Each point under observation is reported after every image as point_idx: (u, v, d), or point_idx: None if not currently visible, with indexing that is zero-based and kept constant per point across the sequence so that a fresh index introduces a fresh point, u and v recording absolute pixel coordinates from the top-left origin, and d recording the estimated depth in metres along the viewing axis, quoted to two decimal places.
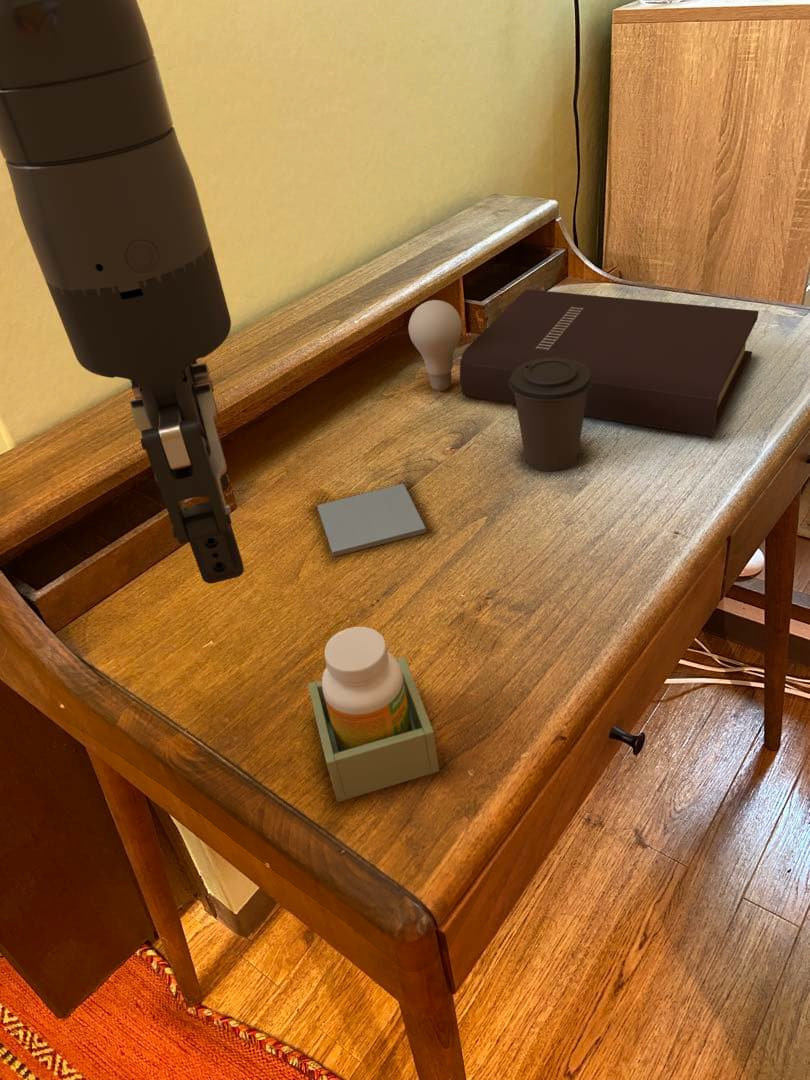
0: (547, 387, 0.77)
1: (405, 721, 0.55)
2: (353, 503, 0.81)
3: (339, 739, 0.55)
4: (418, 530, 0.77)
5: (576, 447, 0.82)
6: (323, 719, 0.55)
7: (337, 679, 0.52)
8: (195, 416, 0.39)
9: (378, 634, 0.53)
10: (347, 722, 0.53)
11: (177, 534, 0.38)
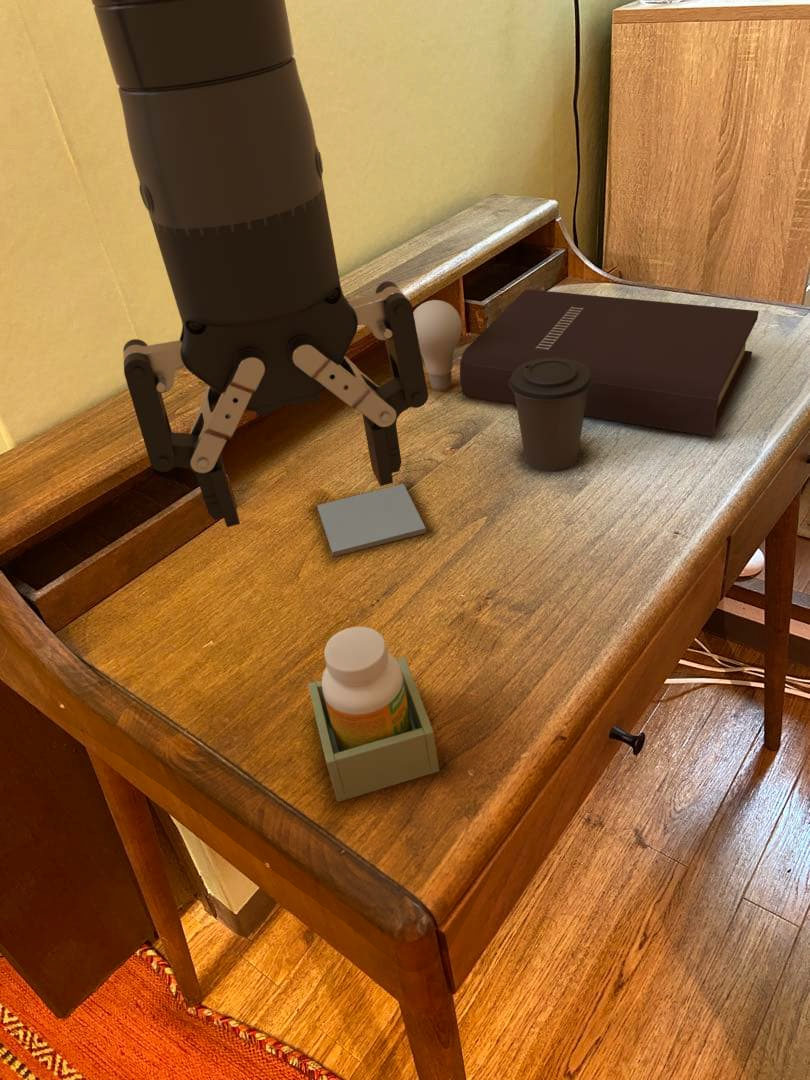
0: (547, 387, 0.77)
1: (405, 721, 0.55)
2: (353, 503, 0.81)
3: (339, 739, 0.55)
4: (418, 530, 0.77)
5: (576, 447, 0.82)
6: (323, 719, 0.55)
7: (336, 679, 0.52)
8: (192, 367, 0.38)
9: (378, 634, 0.53)
10: (347, 722, 0.53)
11: None
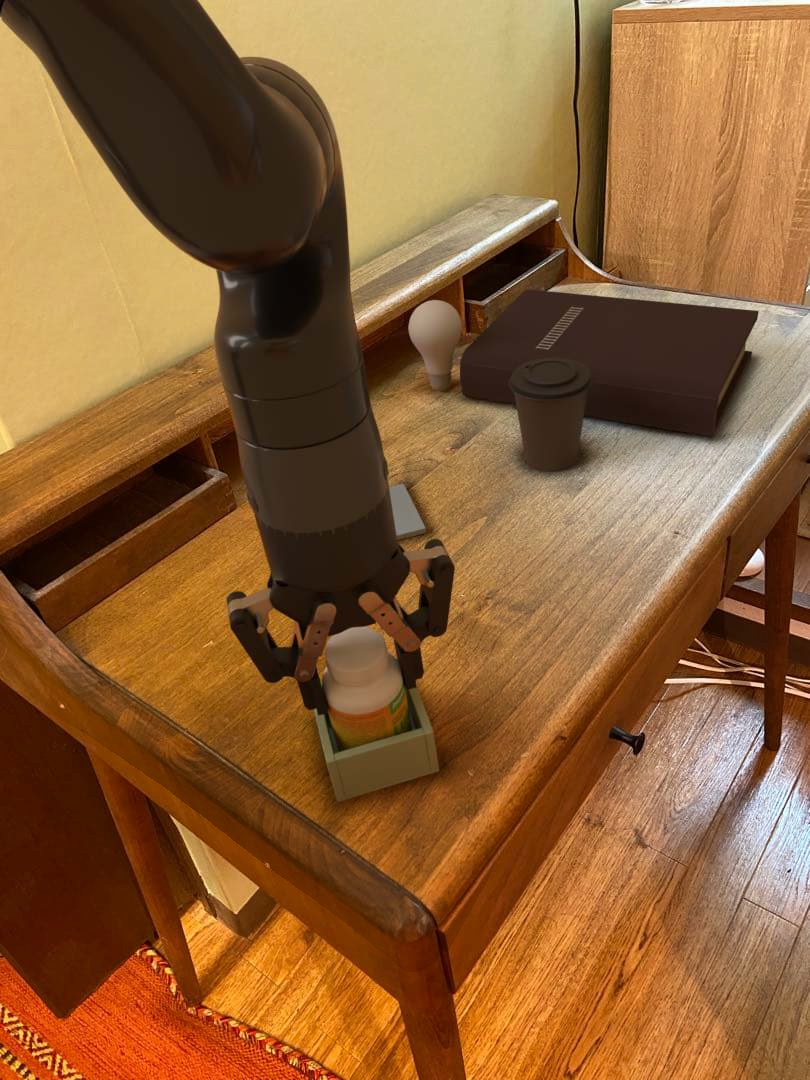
0: (547, 387, 0.77)
1: (405, 721, 0.55)
2: None
3: (339, 739, 0.55)
4: (418, 530, 0.77)
5: (576, 447, 0.82)
6: (323, 719, 0.55)
7: (337, 679, 0.52)
8: (278, 608, 0.47)
9: (378, 634, 0.53)
10: (348, 722, 0.53)
11: None
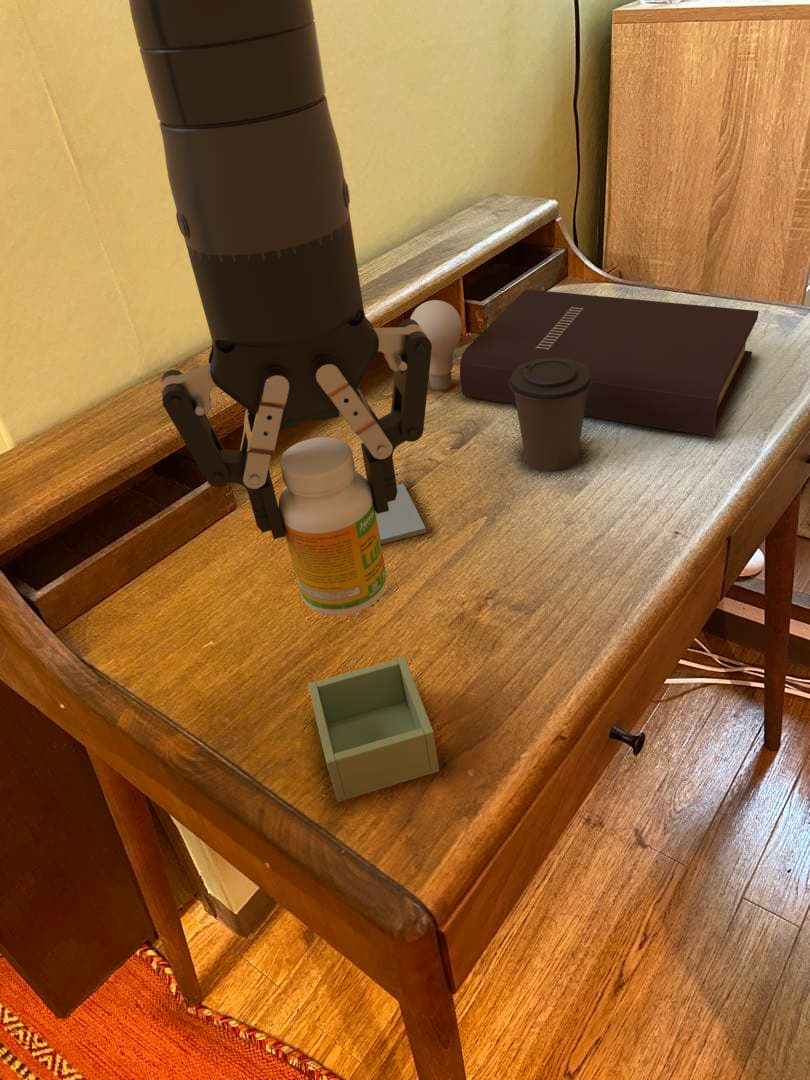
0: (547, 387, 0.77)
1: (376, 554, 0.48)
2: None
3: (299, 573, 0.48)
4: (418, 530, 0.77)
5: (576, 447, 0.82)
6: (323, 719, 0.55)
7: (294, 490, 0.44)
8: (221, 383, 0.40)
9: (344, 443, 0.45)
10: (307, 545, 0.45)
11: None
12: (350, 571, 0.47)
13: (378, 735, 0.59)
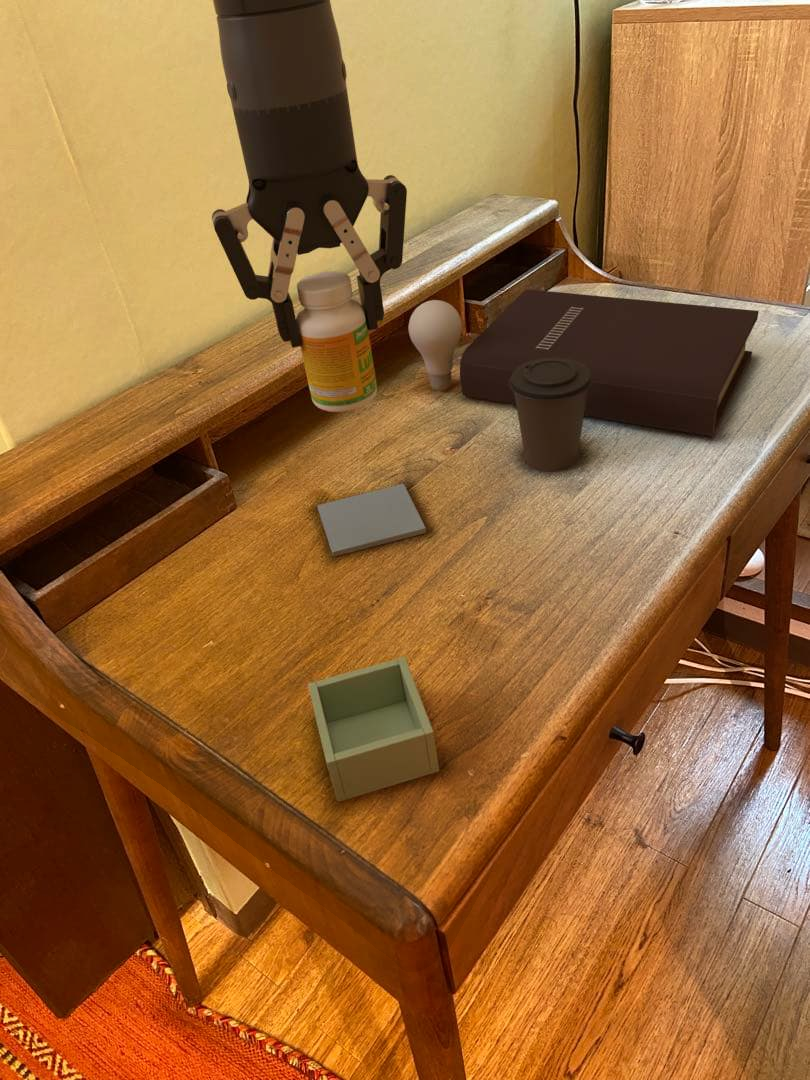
0: (547, 387, 0.77)
1: (369, 363, 0.64)
2: (353, 503, 0.81)
3: (311, 377, 0.64)
4: (418, 530, 0.77)
5: (576, 447, 0.82)
6: (323, 719, 0.55)
7: (307, 305, 0.60)
8: (255, 215, 0.56)
9: (344, 273, 0.61)
10: (317, 349, 0.61)
11: None
12: (350, 372, 0.63)
13: (378, 735, 0.59)
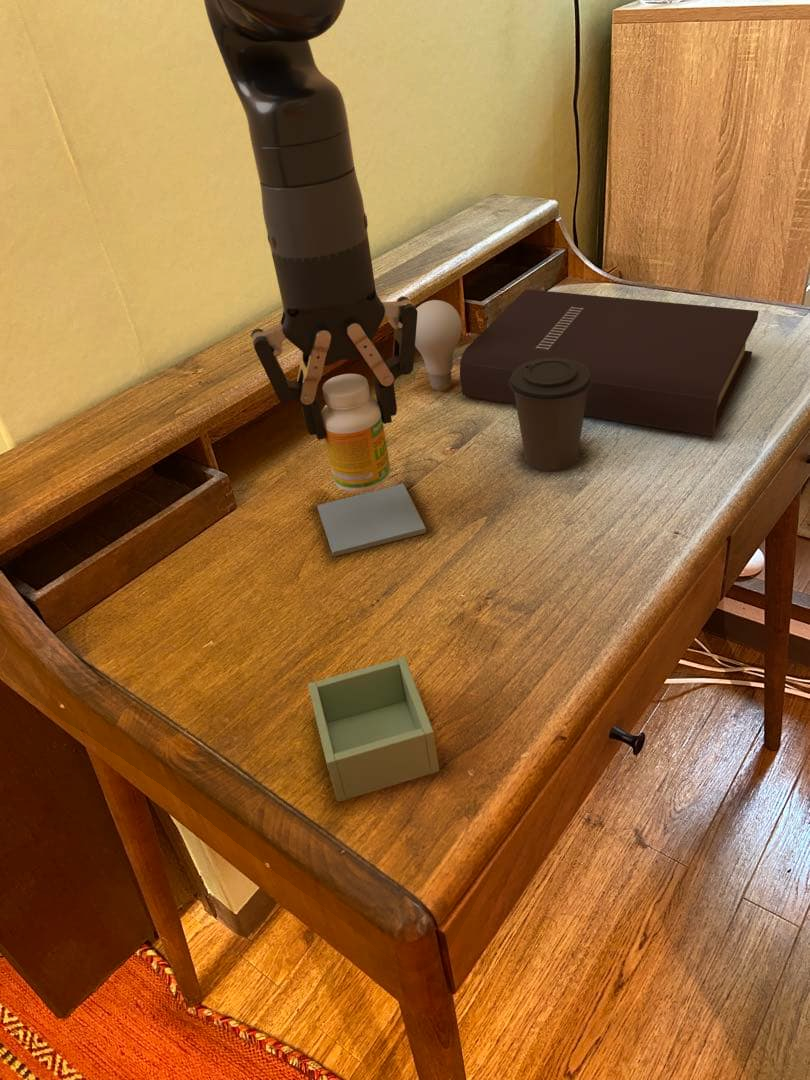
0: (546, 387, 0.77)
1: (384, 451, 0.74)
2: (353, 503, 0.81)
3: (334, 463, 0.73)
4: (418, 530, 0.77)
5: (576, 447, 0.82)
6: (323, 719, 0.55)
7: (331, 406, 0.70)
8: (289, 336, 0.66)
9: (362, 376, 0.71)
10: (340, 442, 0.71)
11: None
12: (367, 460, 0.72)
13: (378, 735, 0.59)
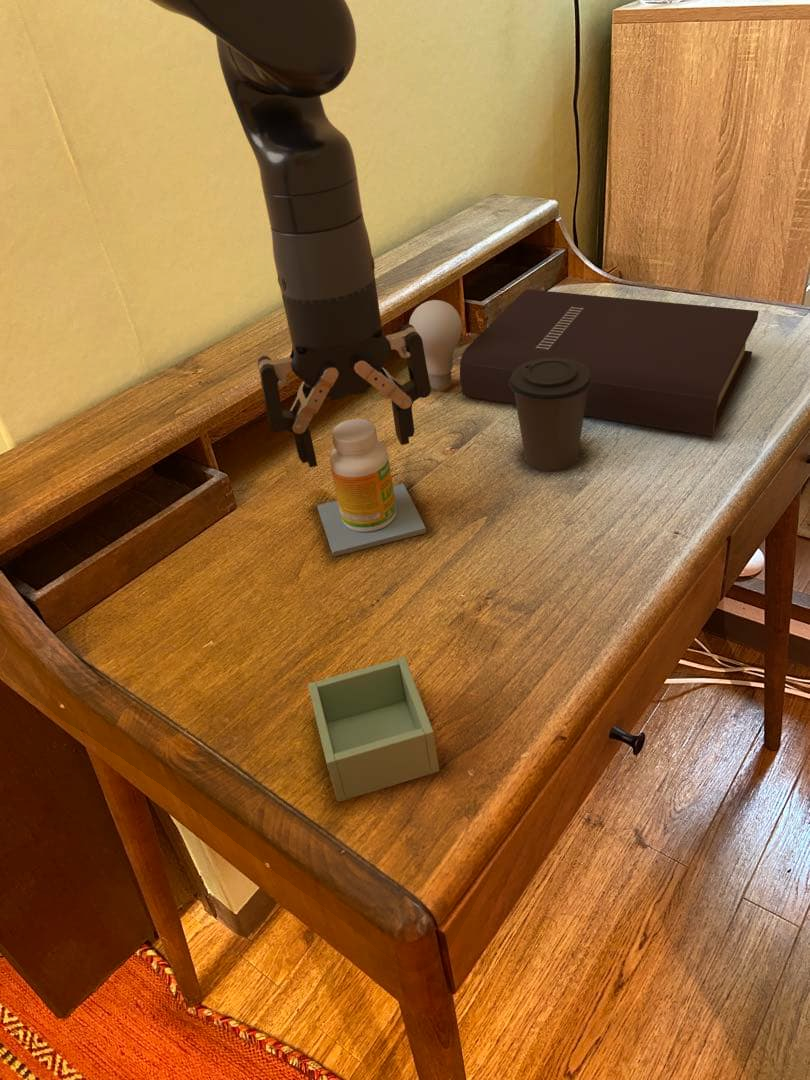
0: (547, 387, 0.77)
1: (390, 492, 0.76)
2: None
3: (342, 504, 0.76)
4: (418, 530, 0.77)
5: (576, 447, 0.82)
6: (323, 719, 0.55)
7: (340, 450, 0.73)
8: (298, 372, 0.68)
9: (370, 422, 0.74)
10: (348, 485, 0.74)
11: (266, 412, 0.71)
12: (375, 501, 0.75)
13: (378, 735, 0.59)
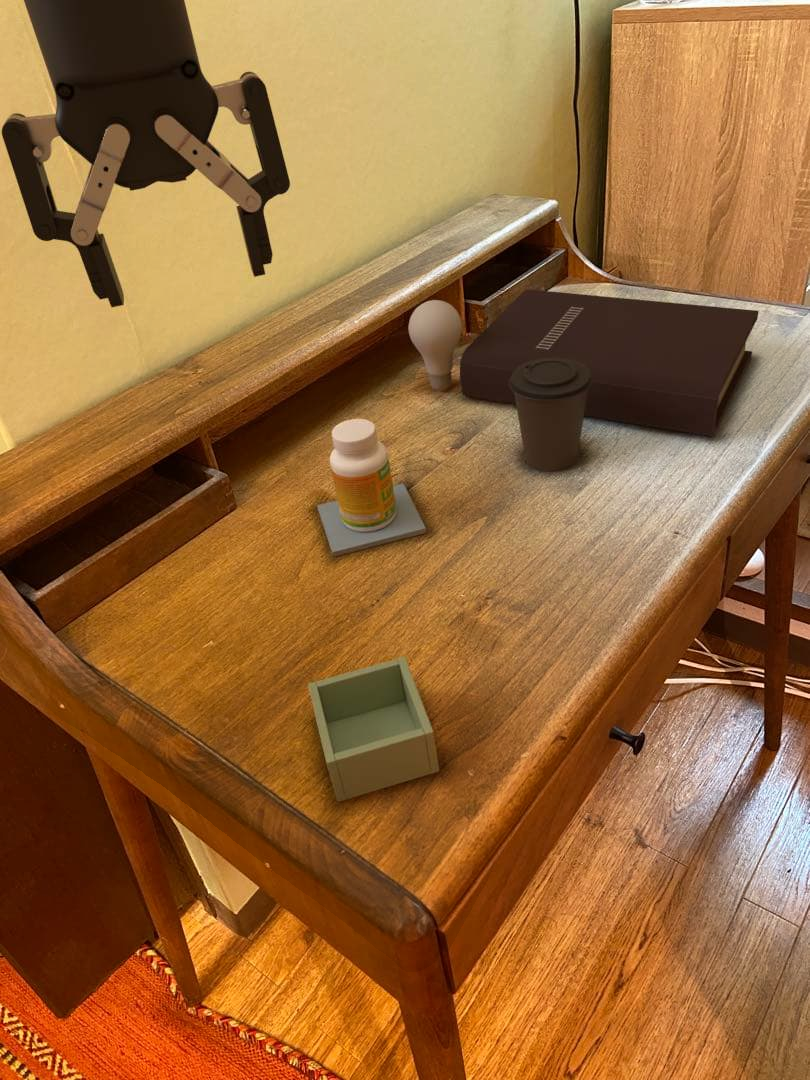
0: (547, 387, 0.77)
1: (390, 492, 0.76)
2: None
3: (342, 504, 0.76)
4: (418, 530, 0.77)
5: (576, 447, 0.82)
6: (323, 719, 0.55)
7: (340, 450, 0.73)
8: (65, 135, 0.43)
9: (370, 422, 0.74)
10: (348, 485, 0.74)
11: None
12: (375, 501, 0.75)
13: (378, 735, 0.59)
